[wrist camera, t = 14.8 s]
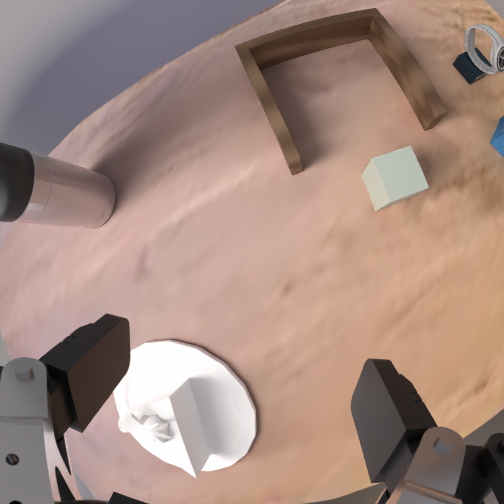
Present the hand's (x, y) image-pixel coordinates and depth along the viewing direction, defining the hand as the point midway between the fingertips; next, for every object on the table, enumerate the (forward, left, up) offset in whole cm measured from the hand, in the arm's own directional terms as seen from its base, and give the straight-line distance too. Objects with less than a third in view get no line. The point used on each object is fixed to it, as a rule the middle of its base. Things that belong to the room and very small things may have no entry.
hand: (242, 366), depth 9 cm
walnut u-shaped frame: (-1, +27, -30) cm, 40 cm away
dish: (-10, -26, -31) cm, 42 cm away
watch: (+20, +41, -30) cm, 55 cm away
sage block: (+8, +15, -30) cm, 34 cm away
